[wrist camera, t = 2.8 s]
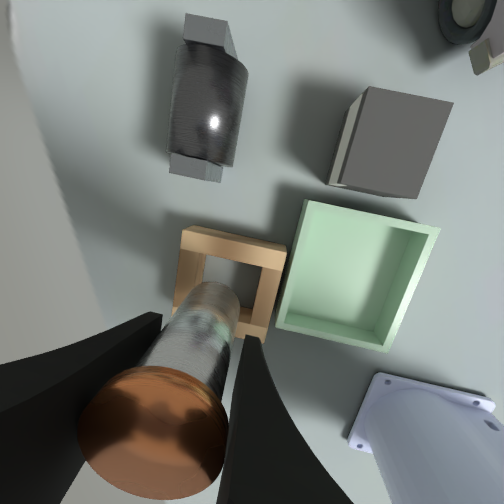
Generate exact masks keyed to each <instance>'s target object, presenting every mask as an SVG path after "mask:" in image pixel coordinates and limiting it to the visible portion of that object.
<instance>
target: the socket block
mask: <svg viewBox="0 0 504 504" xmlns="http://www.w3.org/2000/svg"><path fill="white" fill-rule="evenodd" d="M206 254H207V255H212V256H216V257H221V258H225V259H230V260H234V261H239V262H243V263H247V264H252V265H256V266H261V267H262V270H261V275H260V279H259V283H258V288H257V292H256V297H255V301H254V305H253V309H249V308H245V307H241V306H240V314H239V319H238V324H237V329H236V333H235V337H237V338H241V339H245V335H246V334H247V335H251V336H255V337H259V338H260V340H261V343H263V344H264V341H265V337H266V334H267V330H268V326H269V322H270V318H271V314H272V310H273V306H274V302H275V298H276V294H277V290H278V286H279V282H280V278H281V274H282V270H283V267H284V263H285V259H286V255H287V250H286V246H285V245H282V244H278V243H273V242H269V241H264V240H260V239H255V238H250V237H246V236H241V235H237V234H232V233H228V232H223V231H219V230H214V229H209V228H205V227H200V226H196V225H192V226H190V227H188V228H185V229H183V230H182V237H181V245H180V253H179V261H178V269H177V277H176V285H175V293H174V301H173V309H172V315H173V314H174V313H175V311H176V310H177V309H178V307H179V306H180V305H181V303H182V302H183V300H184V299H185V298H186V296H187V295H188V294H189V292H190V291H191V290H192V289H193V288H194V287H195V286H197V285H199V284H201V283H202V278H203V272H204V265H205V259H206ZM171 317H172V316H171Z"/></svg>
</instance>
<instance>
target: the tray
mask: <svg viewBox="0 0 504 504" xmlns="http://www.w3.org/2000/svg"><path fill="white" fill-rule="evenodd" d="M440 229H441V228H438V227H433V226H429V225H424V224H420V223H415V222H410V221H406V220H401V219H396V218H392V217H387V216H382V215H378V214H373V213H368V212H363V211H359V210H354V209H349V208H345V207H340V206H335V205H330V204H326V203H321V202H316V201H312V200H307V199H304V202H303V206H302V210H301V214H300V218H299V222H298V225H297V229H296V233H295V237H294V241H293V245H292V249H291V253H290V256H289V260H288V264H287V268H286V272H285V276H284V280H283V284H282V287H281V291H280V295H279V299H278V303H277V307H276V311H275V328H279V329H284V330H288V331H292V332H297V333H301V334H305V335H310V336H314V337H318V338H323V339H327V340H331V341H336V342H340V343H344V344H349V345H353V346H357V347H362V348H366V349H370V350H374V351H379V352H383V353H387V354H388V352H389V350H390V347H391V345H392V342H393V340H394V338H395V335H396V333H397V331H398V328H399V326H400V324H401V321H402V319H403V316H404V314H405V312H406V309H407V307H408V305H409V302H410V300H411V298H412V295H413V293H414V290H415V288H416V286H417V283H418V281H419V279H420V276H421V274H422V272H423V269H424V267H425V264H426V262H427V260H428V257H429V255H430V253H431V250H432V248H433V246H434V243H435V241H436V238H437V236H438V234H439V231H440Z"/></svg>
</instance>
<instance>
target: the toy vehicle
mask: <svg viewBox="0 0 504 504" xmlns="http://www.w3.org/2000/svg"><path fill="white" fill-rule="evenodd" d="M438 16H439V24H440V28H441V30H442V32H443V35H444V37H445V38H446V39H447V40H449V41H450V42H451V43H455V44H468V43H471V42H474V41H476V40H477V41H476V42H475V43H474V44H473V45H472V46H471V50H470V51H469V56H470V60H471V64H472V68H473V71H474V74H475V75H479V74H481V73H483V72H485V71H487V70H489V69H491V68H493V67H495V66H497V65H499V64H501V63H503V62H504V0H439V11H438Z"/></svg>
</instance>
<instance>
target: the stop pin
mask: <svg viewBox="0 0 504 504" xmlns="http://www.w3.org/2000/svg"><path fill="white" fill-rule="evenodd" d="M239 314H240V303H239V300H238V298H237V296H236V294H235V293H234V292H233V291H232V290H231V289H230V288H229V287H227V286H226V285H224V284H221V283H218V282H204V283H201V284H199V285H197V286H195V287H194V288H193V289H192V290H191V291H190V292H189V294H188V295H187V296H186V298H185V299H184V300H183V302H182V303H181V305H180V306H179V307H178V309H177V310H176V311H175V313H174V314H173V315H172V317H171V318H170V320H169V321H168V322H167V324H166V325H165V326H164V328H163V329H162V331H161V332H160V333H159V335H158V336H157V337H156V339H155V340H154V341H153V343H152V344H151V346H150V347H149V348H148V350H147V351H146V352H145V354H144V355H143V356H142V358H141V359H140V361H139V362H138V363H137V365H136V366H135V367H134V368H131V369H128V370H125V371H122V372H120V373H118V374H116V375H115V376H114V377H112V378H111V379H110V380H109V381H108V382H106V383H105V385H104V386H103V387H102V388H101V389H100V391H99V392H98V393H97V394H96V396H95V397H94V398H93V399H92V400H91V402H90V403H89V404H88V405H87V407H86V408H85V409H84V411H83V412H82V414H81V416H80V419H79V422H78V428H77V437H78V443H79V447H80V449H81V452H82V454H83V456H84V457H85V459H86V461H87V462H88V464H89V465H90V466H91V467H92V469H93V470H94V471H96V473H97V474H99V475H100V476H101V477H102V478H103V479H105V480H106V481H107V482H109V483H110V484H112V485H114V486H115V487H117V488H119V489H121V490H123V491H126V492H128V493H130V494H133V495H136V496H140V497H144V498H149V499H157V500H173V499H181V498H185V497H189V496H192V495H195V494H197V493H199V492H201V491H203V490H204V489H206V488H207V487H209V486H210V485H211V484H212V483H213V482H214V481H215V480H216V478H217V477H218V476H219V474H220V472H221V470H222V467H223V464H224V459H225V452H226V446H227V439H228V432H229V422H228V417H227V414H226V411H225V408H224V407H223V405H222V403H221V401H222V396H223V391H224V386H225V381H226V377H227V372H228V367H229V362H230V357H231V353H232V348H233V343H234V338H235V333H236V329H237V324H238V319H239Z"/></svg>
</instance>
